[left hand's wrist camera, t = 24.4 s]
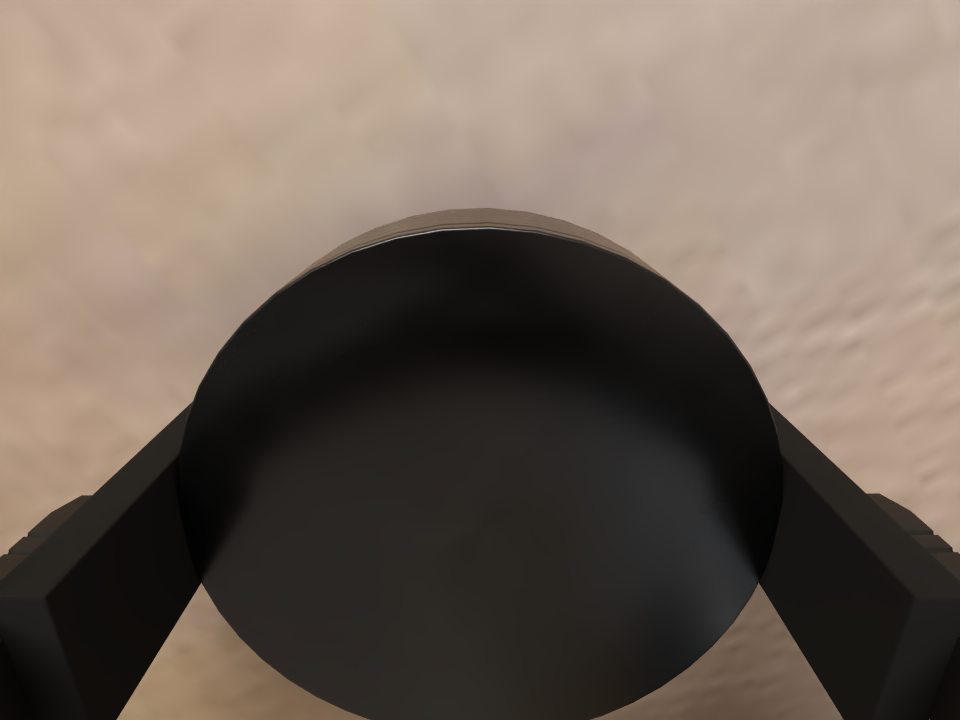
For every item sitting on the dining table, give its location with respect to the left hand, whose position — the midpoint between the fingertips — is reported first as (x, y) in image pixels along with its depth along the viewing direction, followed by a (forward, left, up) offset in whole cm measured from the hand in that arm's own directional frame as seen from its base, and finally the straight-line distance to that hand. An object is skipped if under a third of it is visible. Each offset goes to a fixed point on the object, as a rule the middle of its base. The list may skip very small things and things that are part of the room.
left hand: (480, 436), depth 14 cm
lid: (0, 0, +3) cm, 3 cm away
